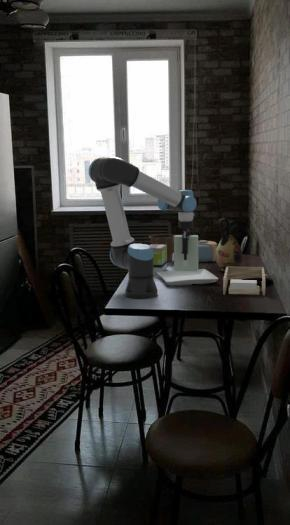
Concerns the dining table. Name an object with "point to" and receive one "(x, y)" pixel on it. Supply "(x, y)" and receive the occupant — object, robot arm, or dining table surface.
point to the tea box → (159, 257)
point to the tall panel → (191, 253)
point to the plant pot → (164, 243)
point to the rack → (243, 275)
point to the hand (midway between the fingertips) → (186, 264)
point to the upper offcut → (243, 284)
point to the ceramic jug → (228, 247)
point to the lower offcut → (244, 291)
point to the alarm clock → (206, 251)
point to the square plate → (187, 277)
